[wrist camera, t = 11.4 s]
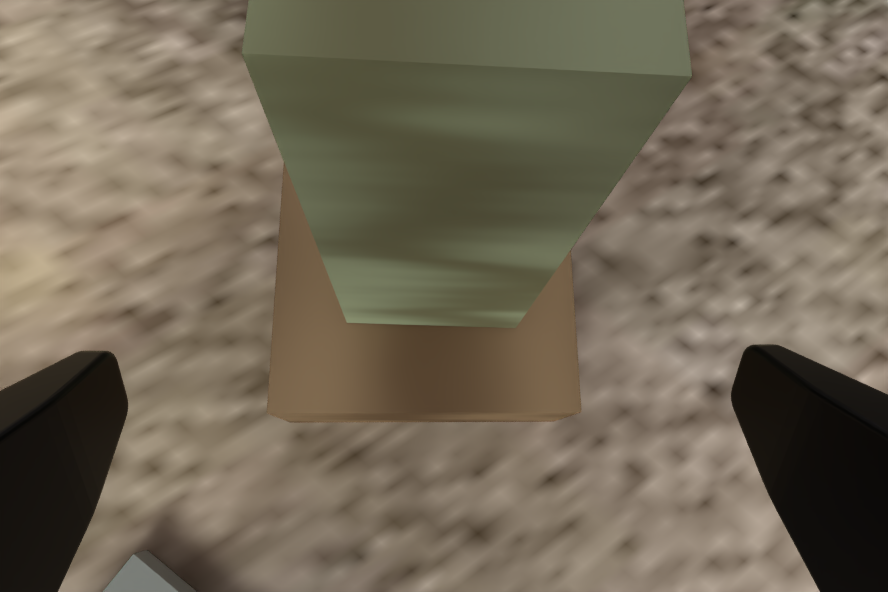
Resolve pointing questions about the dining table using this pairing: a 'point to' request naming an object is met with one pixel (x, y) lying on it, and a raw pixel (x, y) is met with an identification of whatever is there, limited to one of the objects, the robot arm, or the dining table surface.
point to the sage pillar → (458, 138)
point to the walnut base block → (411, 352)
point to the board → (147, 576)
